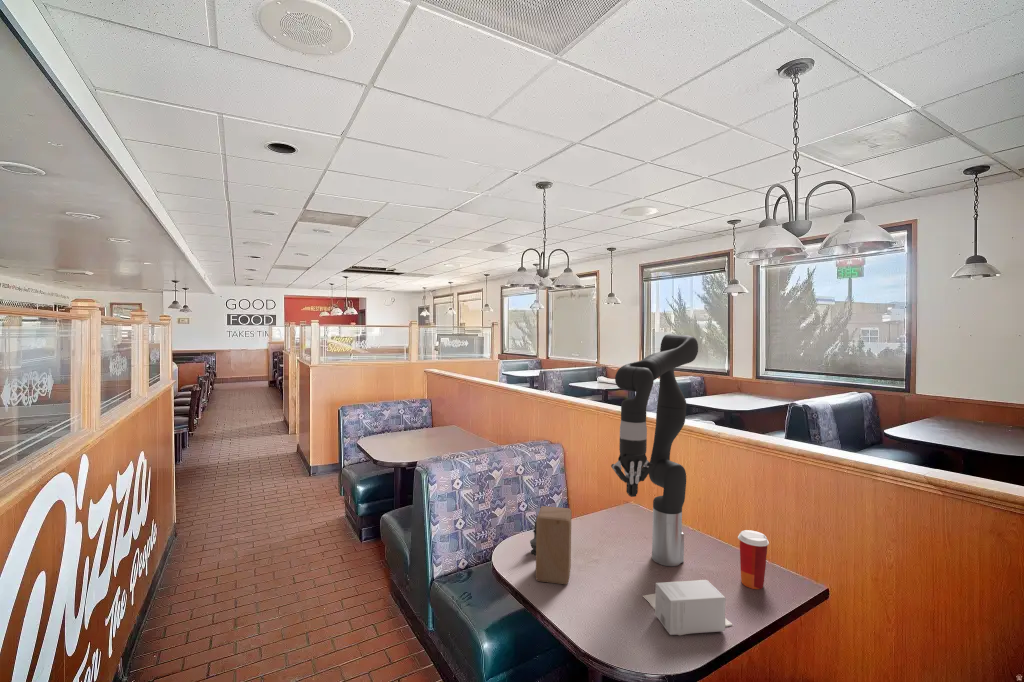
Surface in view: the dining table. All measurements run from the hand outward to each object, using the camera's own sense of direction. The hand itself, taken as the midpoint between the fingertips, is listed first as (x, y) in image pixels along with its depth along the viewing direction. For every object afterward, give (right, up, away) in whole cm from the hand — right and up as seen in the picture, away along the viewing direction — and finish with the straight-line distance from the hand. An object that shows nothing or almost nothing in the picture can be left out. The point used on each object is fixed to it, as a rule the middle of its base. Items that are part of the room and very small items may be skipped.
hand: (631, 495), depth 132 cm
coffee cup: (+38, -29, +7) cm, 49 cm away
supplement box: (+4, -25, -13) cm, 28 cm away
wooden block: (-22, -29, +11) cm, 37 cm away
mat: (+13, -29, -6) cm, 33 cm away
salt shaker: (-26, -28, +25) cm, 46 cm away
